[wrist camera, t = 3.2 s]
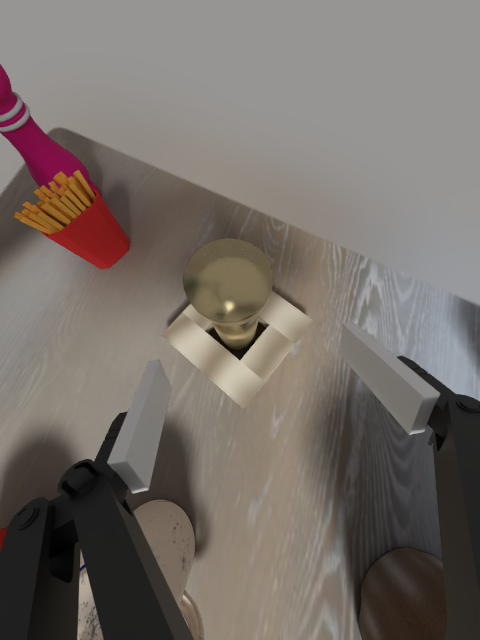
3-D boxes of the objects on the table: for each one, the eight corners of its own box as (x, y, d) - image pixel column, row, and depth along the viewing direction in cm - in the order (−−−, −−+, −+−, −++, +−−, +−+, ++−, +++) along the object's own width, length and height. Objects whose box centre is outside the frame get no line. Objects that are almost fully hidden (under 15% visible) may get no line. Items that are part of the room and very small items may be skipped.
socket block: (167, 338, 30) (161, 335, 28) (232, 269, 33) (230, 260, 30) (244, 407, 27) (244, 409, 25) (307, 325, 30) (313, 320, 28)
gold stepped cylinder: (207, 334, 30) (164, 283, 14) (235, 303, 31) (223, 223, 15) (240, 362, 29) (233, 339, 13) (267, 329, 30) (291, 270, 14)
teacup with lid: (99, 556, 23) (-35, 716, 12) (153, 477, 25) (79, 553, 14) (184, 643, 21) (115, 934, 10) (235, 550, 23) (226, 708, 12)
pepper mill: (97, 178, 39) (-51, -23, 19) (110, 206, 37) (-39, 15, 18) (58, 194, 38) (-136, 1, 19) (69, 223, 36) (-133, 43, 17)
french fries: (122, 229, 35) (62, 156, 24) (138, 241, 35) (84, 172, 23) (82, 265, 34) (-3, 204, 22) (98, 279, 33) (19, 224, 21)
